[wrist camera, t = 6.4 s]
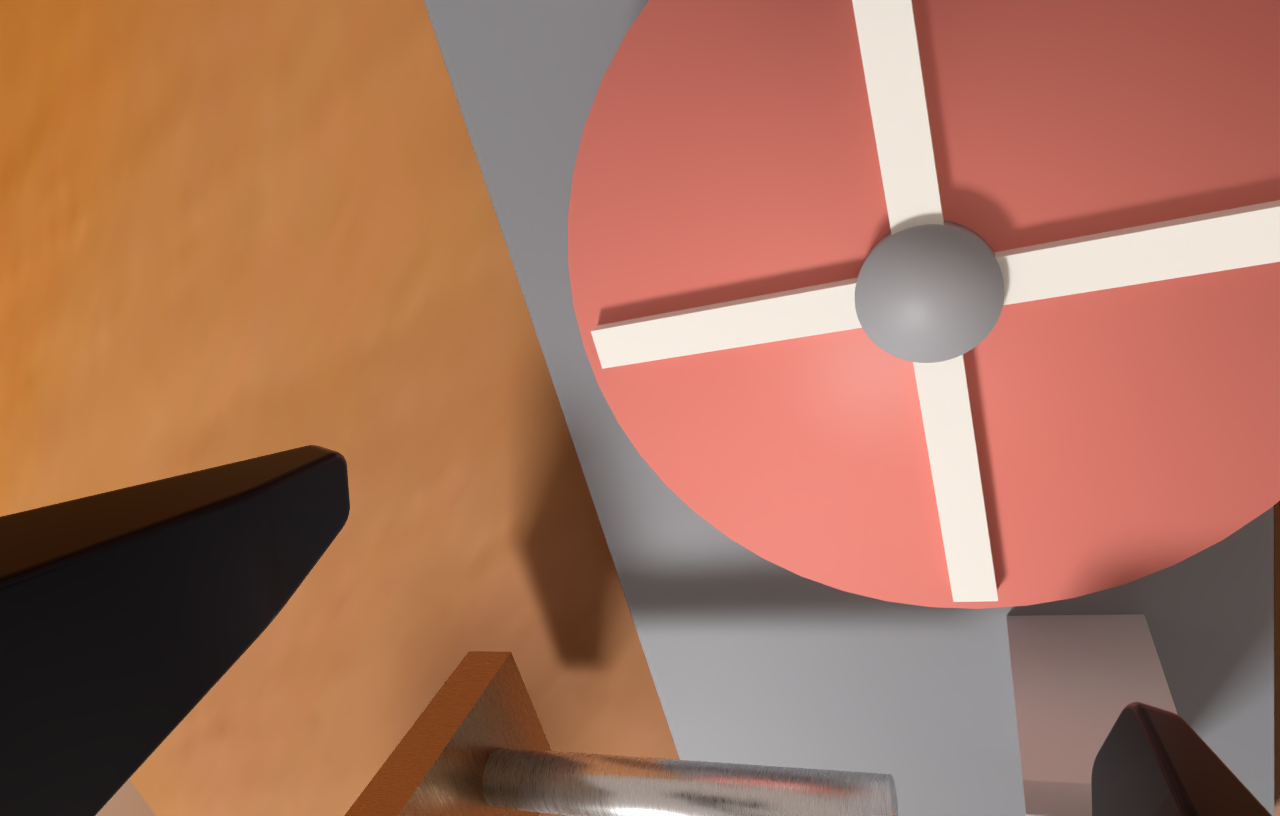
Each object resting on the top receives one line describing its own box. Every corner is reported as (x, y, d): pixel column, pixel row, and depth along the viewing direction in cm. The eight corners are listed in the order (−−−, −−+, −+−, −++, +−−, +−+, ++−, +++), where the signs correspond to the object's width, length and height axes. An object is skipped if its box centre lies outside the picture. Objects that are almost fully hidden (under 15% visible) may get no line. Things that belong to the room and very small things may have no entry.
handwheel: (1442, -416, 10) (1860, -786, 6) (1387, 564, 16) (1581, 803, 11) (494, -24, 17) (312, -42, 12) (681, 585, 22) (607, 743, 17)
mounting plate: (1249, -389, 12) (1519, -754, 7) (1260, 817, 21) (1381, 1122, 15) (435, -34, 19) (207, -58, 13) (701, 775, 28) (635, 977, 22)
